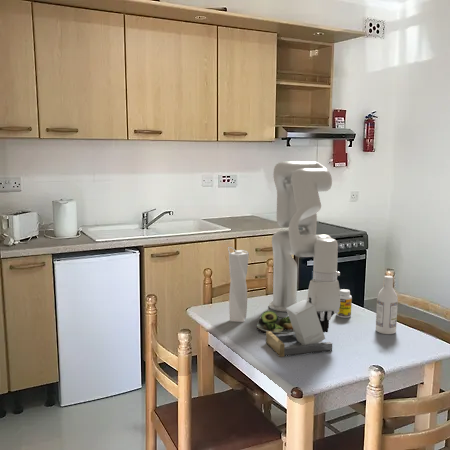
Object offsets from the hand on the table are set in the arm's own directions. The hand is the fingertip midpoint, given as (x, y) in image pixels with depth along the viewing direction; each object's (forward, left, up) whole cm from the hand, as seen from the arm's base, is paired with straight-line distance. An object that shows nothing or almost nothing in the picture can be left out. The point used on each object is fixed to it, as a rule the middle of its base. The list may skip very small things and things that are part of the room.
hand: (323, 331), depth 164 cm
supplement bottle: (-25, +22, -5) cm, 33 cm away
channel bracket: (-1, -8, -5) cm, 10 cm away
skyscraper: (-32, -19, -5) cm, 38 cm away
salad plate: (-20, -7, -6) cm, 22 cm away
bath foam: (-6, +28, -5) cm, 29 cm away
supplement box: (-1, -4, -3) cm, 5 cm away
